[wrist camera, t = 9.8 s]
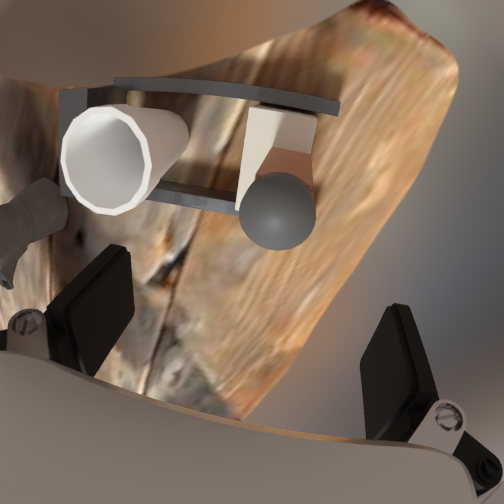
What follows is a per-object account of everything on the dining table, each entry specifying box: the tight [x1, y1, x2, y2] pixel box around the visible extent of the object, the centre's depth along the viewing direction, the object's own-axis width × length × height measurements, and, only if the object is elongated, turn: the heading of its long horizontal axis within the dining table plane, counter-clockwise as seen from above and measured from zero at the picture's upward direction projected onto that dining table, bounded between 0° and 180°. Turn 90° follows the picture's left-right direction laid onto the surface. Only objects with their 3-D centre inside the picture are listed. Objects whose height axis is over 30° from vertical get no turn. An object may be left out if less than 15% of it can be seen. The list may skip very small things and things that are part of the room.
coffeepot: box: [0, 177, 69, 290], centre depth 34 cm, size 15×9×18 cm, turn 36°
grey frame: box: [58, 77, 341, 216], centre depth 31 cm, size 14×28×8 cm, turn 82°
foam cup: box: [61, 104, 189, 216], centre depth 29 cm, size 10×9×13 cm
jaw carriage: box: [235, 105, 318, 250], centre depth 26 cm, size 10×6×18 cm, turn 172°
